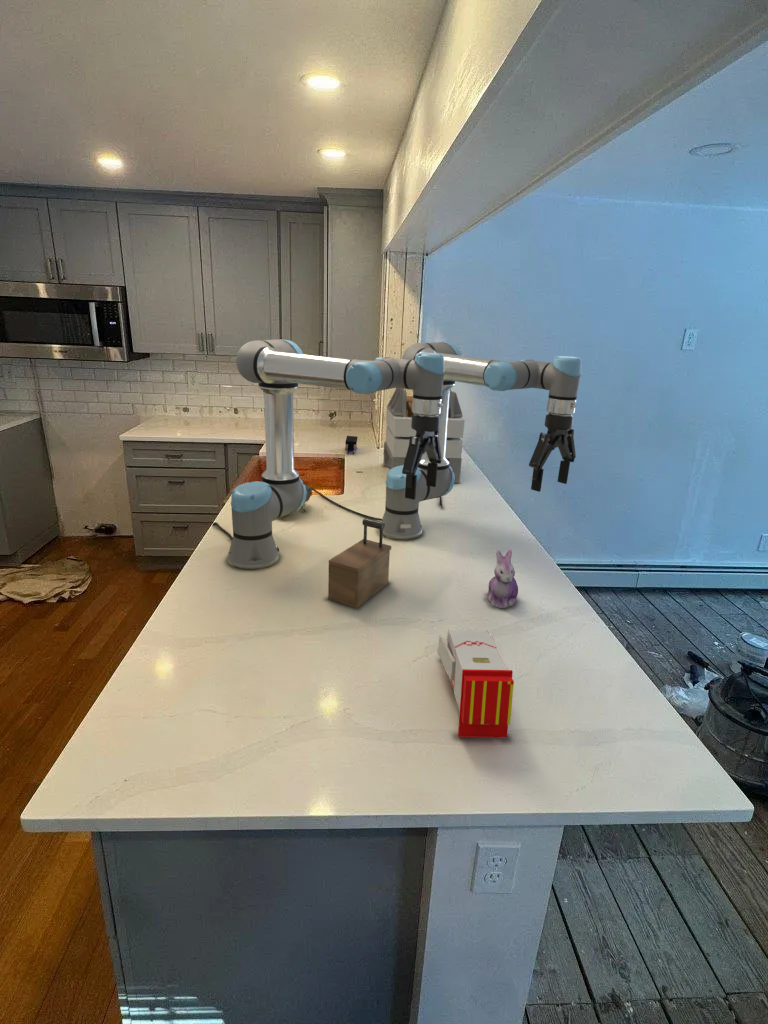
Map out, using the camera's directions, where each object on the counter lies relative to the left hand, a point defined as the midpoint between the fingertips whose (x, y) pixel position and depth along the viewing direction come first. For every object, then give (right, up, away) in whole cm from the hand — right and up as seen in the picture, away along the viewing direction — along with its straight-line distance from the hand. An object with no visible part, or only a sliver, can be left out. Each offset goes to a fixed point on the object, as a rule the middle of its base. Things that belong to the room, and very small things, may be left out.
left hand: (420, 492), depth 155 cm
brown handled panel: (-16, -18, 0) cm, 24 cm away
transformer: (+7, +13, +120) cm, 121 cm away
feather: (+14, 0, +85) cm, 86 cm away
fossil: (-44, -5, +62) cm, 76 cm away
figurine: (+23, -30, +1) cm, 38 cm away
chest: (-17, -27, +4) cm, 33 cm away
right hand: (+38, +2, +10) cm, 40 cm away
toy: (+8, -43, -36) cm, 57 cm away
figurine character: (-28, +27, +154) cm, 159 cm away
